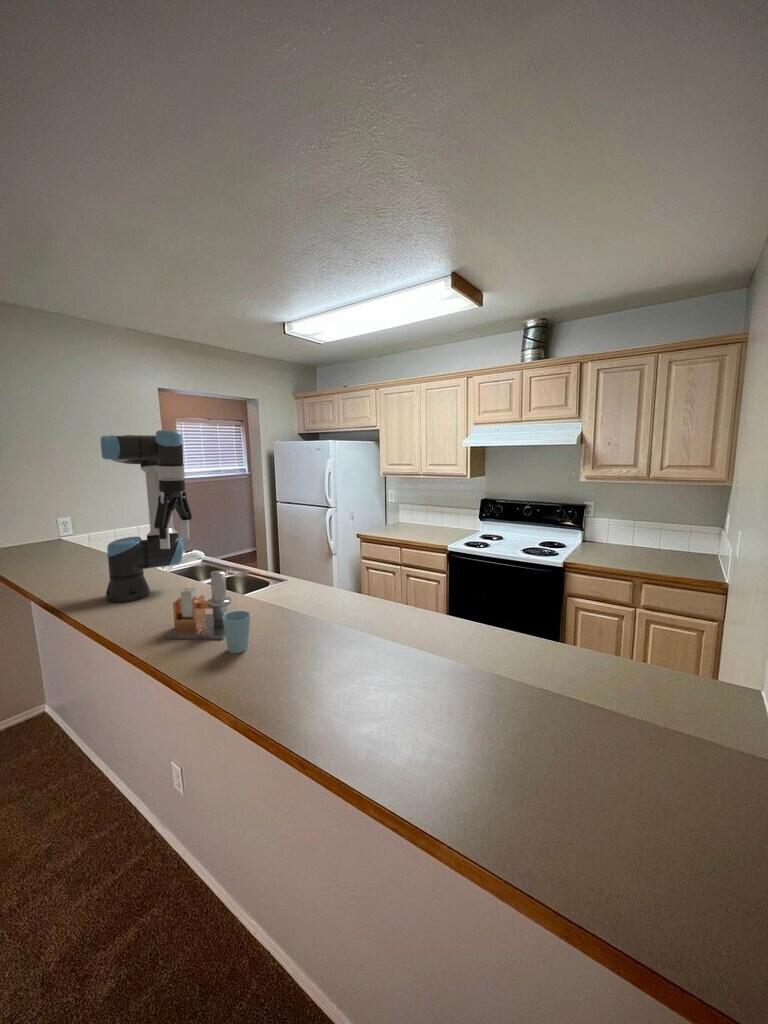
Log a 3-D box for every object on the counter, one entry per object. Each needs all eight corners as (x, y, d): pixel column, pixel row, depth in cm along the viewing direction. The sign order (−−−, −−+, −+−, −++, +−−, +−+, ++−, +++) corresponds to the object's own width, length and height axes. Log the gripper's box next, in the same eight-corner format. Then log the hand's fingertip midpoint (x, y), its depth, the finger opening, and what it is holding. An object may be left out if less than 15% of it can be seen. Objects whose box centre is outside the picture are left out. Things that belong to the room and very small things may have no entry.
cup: (248, 641, 131) (247, 608, 129) (254, 651, 124) (253, 617, 123) (222, 646, 127) (220, 613, 126) (227, 657, 120) (225, 622, 119)
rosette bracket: (191, 616, 150) (188, 564, 147) (242, 617, 150) (240, 564, 147) (165, 638, 132) (161, 579, 130) (222, 639, 132) (219, 580, 129)
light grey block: (187, 622, 142) (185, 588, 141) (197, 622, 142) (195, 588, 141) (182, 626, 139) (180, 591, 137) (193, 627, 139) (191, 591, 137)
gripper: (178, 475, 149) (181, 535, 153) (138, 482, 125) (143, 552, 128) (199, 476, 149) (202, 535, 153) (163, 483, 125) (168, 553, 128)
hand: (175, 543), depth 141 cm, fingers open, 13 cm apart
